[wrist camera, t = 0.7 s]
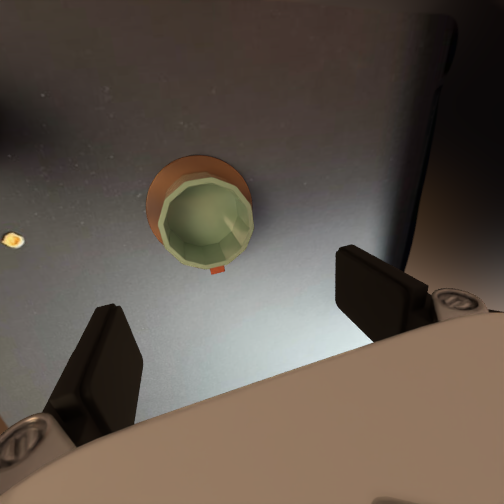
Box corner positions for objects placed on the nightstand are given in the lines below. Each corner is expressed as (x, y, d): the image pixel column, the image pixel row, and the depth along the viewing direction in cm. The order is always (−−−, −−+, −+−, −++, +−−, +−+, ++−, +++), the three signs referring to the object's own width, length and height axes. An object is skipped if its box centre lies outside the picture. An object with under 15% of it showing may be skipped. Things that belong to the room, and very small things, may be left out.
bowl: (152, 179, 22) (146, 188, 17) (233, 166, 23) (246, 170, 19) (175, 260, 25) (175, 284, 21) (244, 244, 27) (259, 264, 22)
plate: (131, 164, 22) (130, 164, 21) (243, 147, 24) (245, 147, 23) (163, 266, 26) (163, 269, 25) (256, 244, 28) (258, 247, 27)
